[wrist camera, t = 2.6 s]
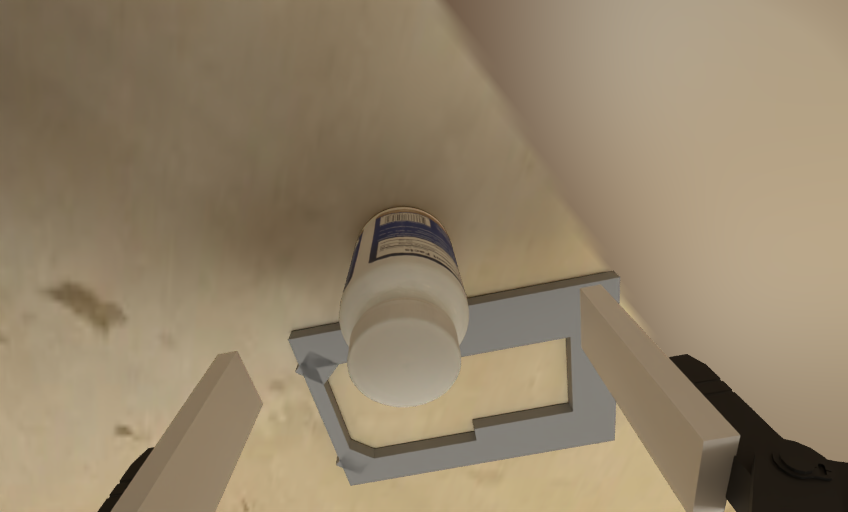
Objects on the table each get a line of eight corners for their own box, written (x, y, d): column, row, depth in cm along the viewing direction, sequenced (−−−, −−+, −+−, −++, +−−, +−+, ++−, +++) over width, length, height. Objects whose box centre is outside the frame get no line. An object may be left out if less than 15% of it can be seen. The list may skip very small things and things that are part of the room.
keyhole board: (285, 332, 24) (281, 340, 24) (613, 270, 24) (620, 277, 23) (346, 476, 30) (345, 486, 30) (609, 431, 30) (614, 440, 29)
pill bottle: (404, 306, 24) (404, 443, 15) (336, 249, 22) (293, 369, 13) (470, 249, 22) (513, 364, 14) (404, 184, 21) (405, 268, 12)
